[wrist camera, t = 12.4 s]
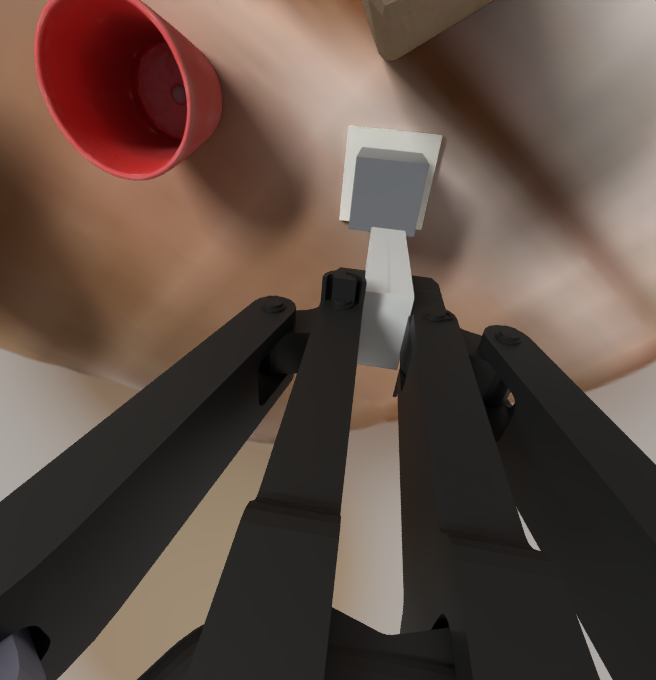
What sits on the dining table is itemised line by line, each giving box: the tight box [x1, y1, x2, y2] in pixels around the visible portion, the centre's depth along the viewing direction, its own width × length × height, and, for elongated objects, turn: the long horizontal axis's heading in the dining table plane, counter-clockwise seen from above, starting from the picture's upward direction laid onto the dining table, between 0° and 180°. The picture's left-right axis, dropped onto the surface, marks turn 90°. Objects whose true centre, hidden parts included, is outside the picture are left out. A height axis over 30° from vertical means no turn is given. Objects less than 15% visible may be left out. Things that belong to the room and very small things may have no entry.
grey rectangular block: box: [348, 147, 430, 237], centre depth 30 cm, size 5×5×7 cm
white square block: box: [339, 125, 443, 230], centre depth 30 cm, size 8×8×7 cm
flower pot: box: [34, 0, 222, 180], centre depth 28 cm, size 11×11×10 cm
